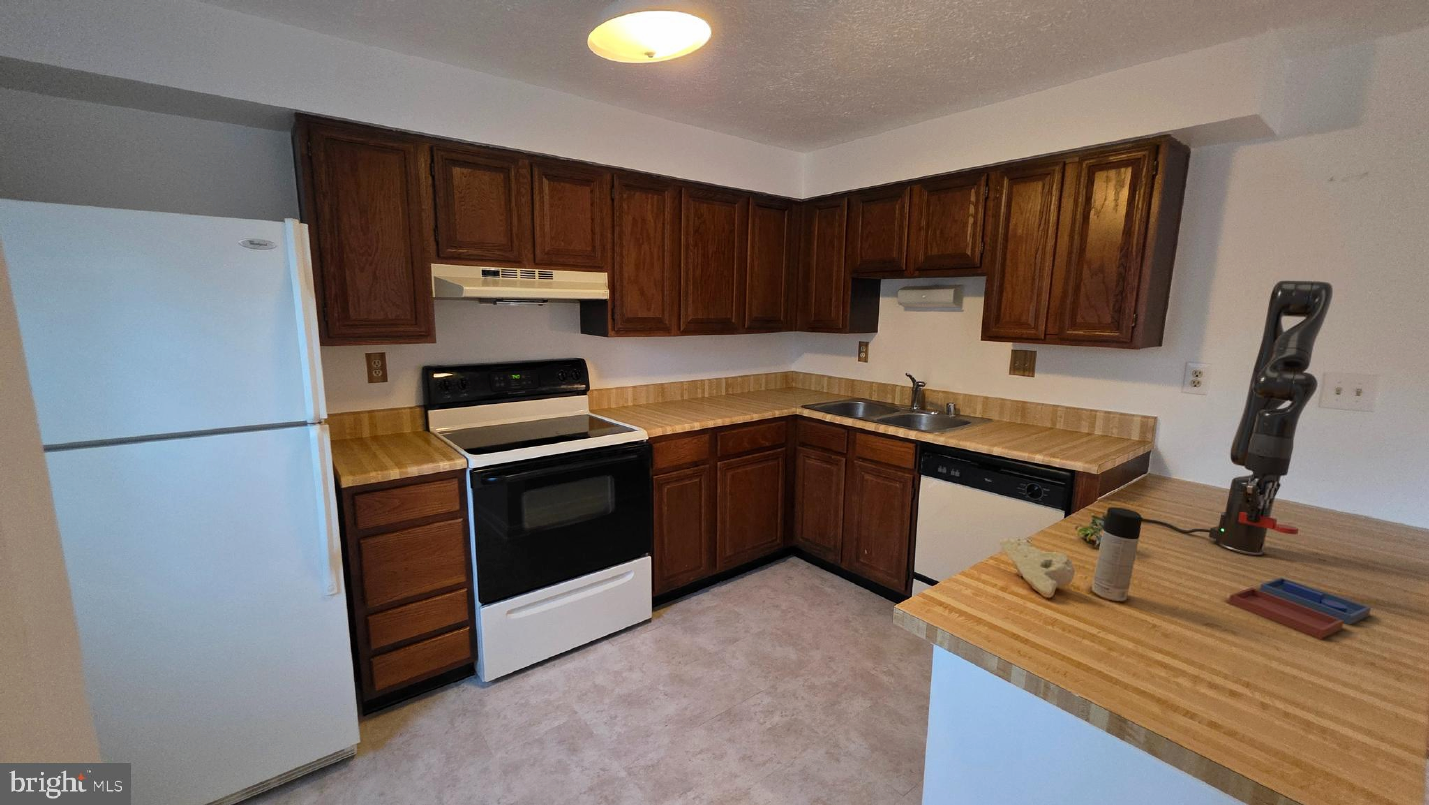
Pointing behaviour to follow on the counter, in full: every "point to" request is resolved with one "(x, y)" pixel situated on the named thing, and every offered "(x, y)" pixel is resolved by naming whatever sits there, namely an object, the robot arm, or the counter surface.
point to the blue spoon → (1312, 596)
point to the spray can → (1117, 554)
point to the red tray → (1286, 612)
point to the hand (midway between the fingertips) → (1254, 521)
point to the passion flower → (1090, 530)
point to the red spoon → (1269, 524)
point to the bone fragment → (1039, 566)
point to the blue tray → (1350, 617)
